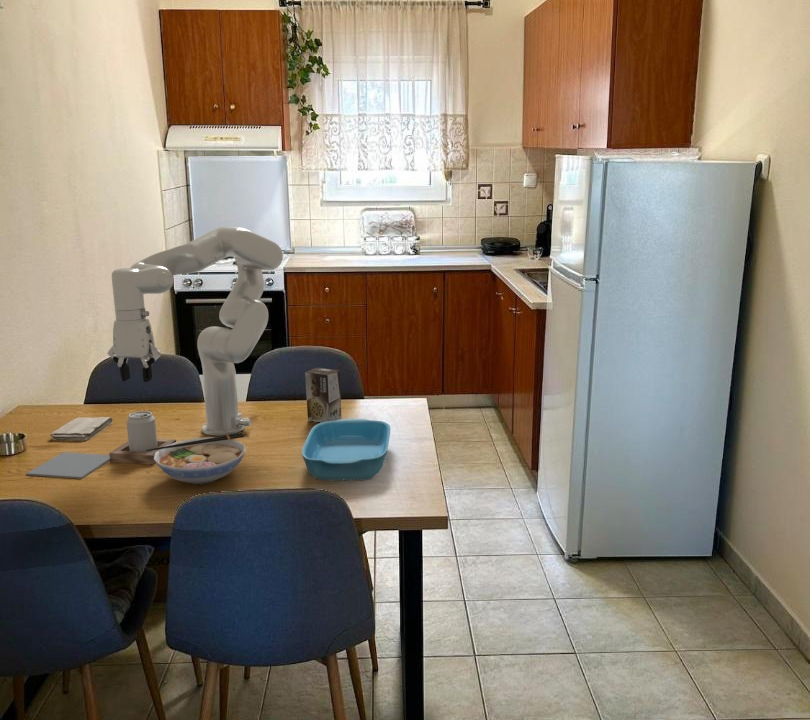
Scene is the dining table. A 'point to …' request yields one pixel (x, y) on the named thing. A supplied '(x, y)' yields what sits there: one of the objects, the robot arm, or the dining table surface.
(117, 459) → the shallow wooden tray
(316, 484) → the dining table surface
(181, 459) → the ramen bowl
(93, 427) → the washcloth
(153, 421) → the can
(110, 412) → the dining table surface
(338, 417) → the coffee box
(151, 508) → the dining table surface
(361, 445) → the casserole dish
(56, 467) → the grey mat
